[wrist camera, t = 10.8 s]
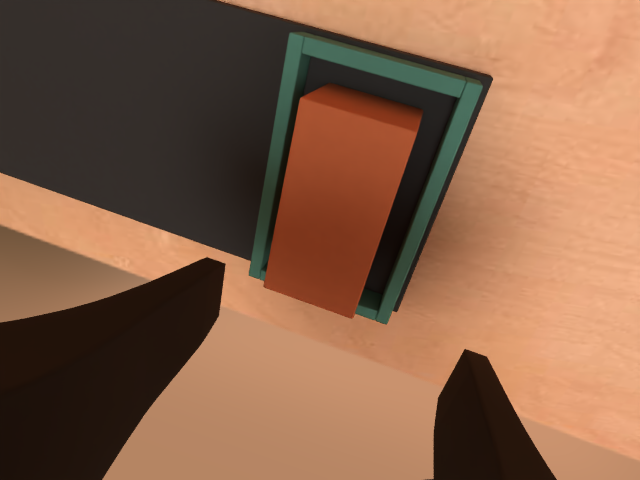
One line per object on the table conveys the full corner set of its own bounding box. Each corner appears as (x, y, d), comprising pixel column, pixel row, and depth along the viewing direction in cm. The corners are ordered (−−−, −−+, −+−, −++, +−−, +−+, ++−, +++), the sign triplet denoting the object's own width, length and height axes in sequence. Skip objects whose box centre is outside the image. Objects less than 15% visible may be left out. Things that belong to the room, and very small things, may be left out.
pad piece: (424, 109, 17) (417, 132, 13) (368, 270, 21) (352, 319, 17) (329, 82, 17) (299, 97, 14) (292, 244, 21) (262, 287, 18)
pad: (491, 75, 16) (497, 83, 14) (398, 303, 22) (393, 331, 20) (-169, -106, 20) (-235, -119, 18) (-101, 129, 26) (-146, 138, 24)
